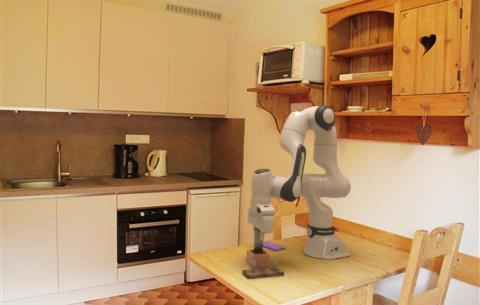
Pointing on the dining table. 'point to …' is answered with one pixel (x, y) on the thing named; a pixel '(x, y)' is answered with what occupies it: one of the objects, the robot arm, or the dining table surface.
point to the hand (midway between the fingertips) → (258, 238)
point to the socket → (258, 258)
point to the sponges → (273, 246)
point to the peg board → (262, 271)
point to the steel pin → (257, 242)
